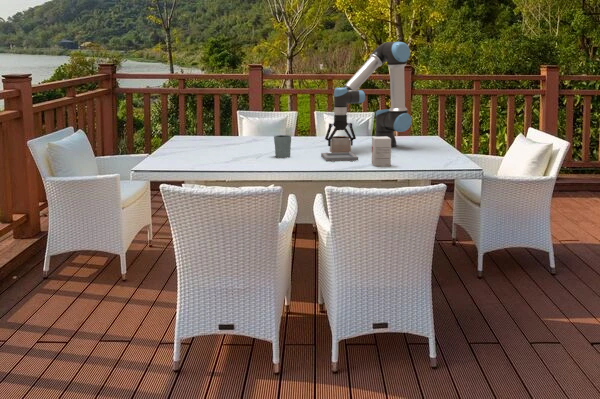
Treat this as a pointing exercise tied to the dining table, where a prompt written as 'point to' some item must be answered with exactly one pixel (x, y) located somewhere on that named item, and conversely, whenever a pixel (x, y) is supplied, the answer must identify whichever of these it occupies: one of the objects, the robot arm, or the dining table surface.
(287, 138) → the grey cup
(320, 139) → the dining table surface
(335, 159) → the grey tray
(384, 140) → the supplement box
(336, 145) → the planter
